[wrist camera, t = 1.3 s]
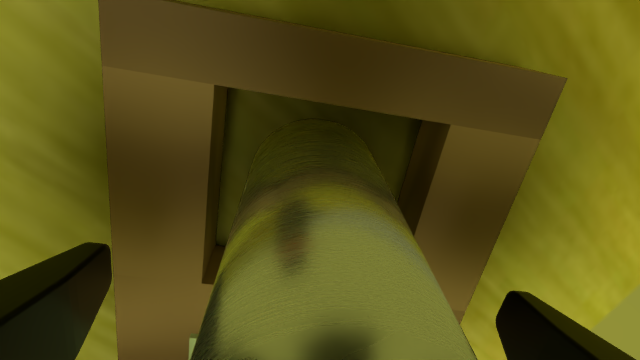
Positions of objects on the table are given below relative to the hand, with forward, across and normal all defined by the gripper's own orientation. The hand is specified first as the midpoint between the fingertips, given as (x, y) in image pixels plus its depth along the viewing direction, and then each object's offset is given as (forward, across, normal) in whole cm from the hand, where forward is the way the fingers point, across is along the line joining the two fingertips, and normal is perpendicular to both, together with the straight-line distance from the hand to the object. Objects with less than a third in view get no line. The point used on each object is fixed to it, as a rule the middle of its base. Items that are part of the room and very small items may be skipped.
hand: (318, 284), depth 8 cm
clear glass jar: (+6, 0, 0) cm, 6 cm away
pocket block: (+6, 0, +4) cm, 7 cm away
